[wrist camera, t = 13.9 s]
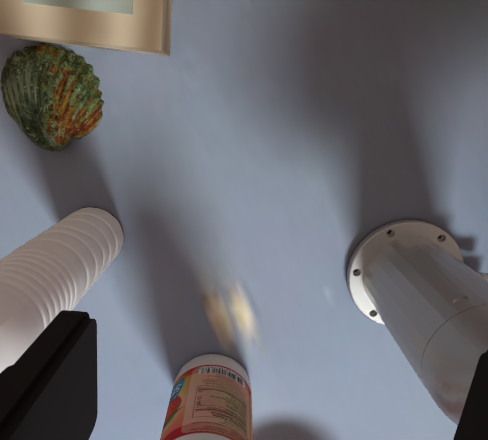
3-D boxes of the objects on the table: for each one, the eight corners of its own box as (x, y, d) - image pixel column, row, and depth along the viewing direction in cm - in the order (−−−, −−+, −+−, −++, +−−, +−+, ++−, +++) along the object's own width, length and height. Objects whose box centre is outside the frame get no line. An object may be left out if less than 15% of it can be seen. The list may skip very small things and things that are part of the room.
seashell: (85, 44, 33) (84, 160, 36) (105, 50, 37) (103, 155, 40) (-27, 29, 34) (-20, 146, 37) (4, 37, 38) (9, 142, 41)
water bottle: (56, 212, 42) (-196, 358, 18) (115, 201, 41) (-60, 336, 17) (80, 285, 44) (-112, 501, 20) (136, 275, 44) (8, 483, 20)
